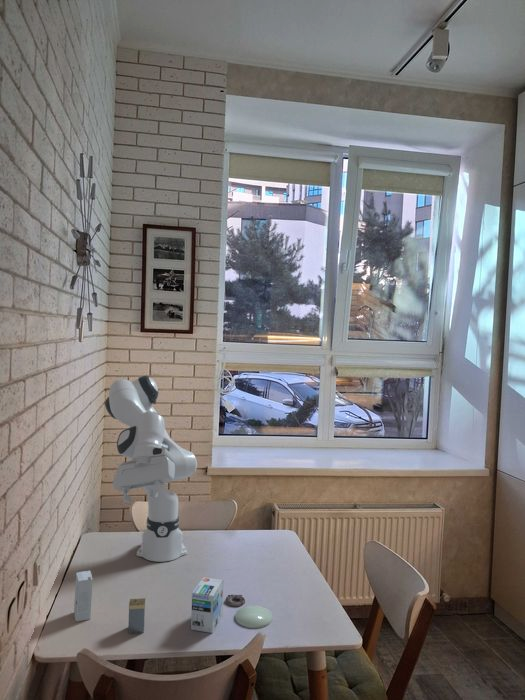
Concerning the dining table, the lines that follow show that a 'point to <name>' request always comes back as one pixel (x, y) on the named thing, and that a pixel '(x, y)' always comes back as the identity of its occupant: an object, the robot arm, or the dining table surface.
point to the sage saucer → (253, 616)
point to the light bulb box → (207, 605)
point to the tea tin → (136, 616)
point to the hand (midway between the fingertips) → (140, 499)
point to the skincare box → (83, 596)
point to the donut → (235, 603)
